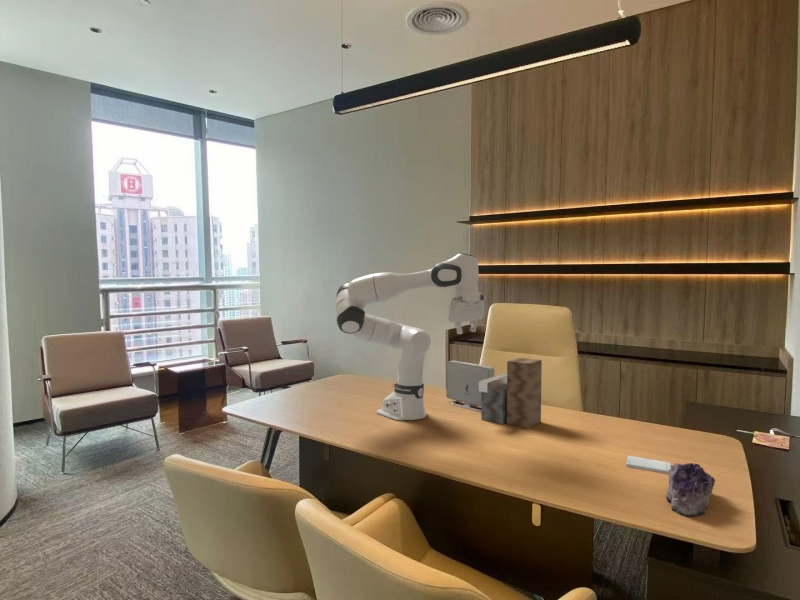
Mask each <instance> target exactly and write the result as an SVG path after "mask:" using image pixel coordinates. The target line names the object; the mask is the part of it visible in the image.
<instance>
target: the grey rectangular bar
mask: <svg viewBox="0 0 800 600" xmlns="http://www.w3.org/2000/svg"><path fill="white" fill-rule="evenodd" d="M504 386H507V372H506V373H505V372H503V373H501V374H497V375H494V377H491V378H488V379H485V380H482V381H479V391H480V392H486V393H488V392H491V391H494V390H496V389H499V388H502V387H504Z"/></svg>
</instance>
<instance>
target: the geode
mask: <svg viewBox="0 0 800 600" xmlns="http://www.w3.org/2000/svg"><path fill="white" fill-rule="evenodd" d="M668 473H669V474H668V483H669V484H668V488H667V490H668V491H667V494H666V497H665V498H666V500H667V501H669V502H670V507H671V511H672V512H674V513H676V514H678V515H680V516H683V517H685V518H694V517H695V518H696V517H698V516H703V515H705V514H706V511H707V510H708V506H709V504H710V501H711V500H710V499H711V496H712V495H713V490H714V486H715V483H716V480H715V478H714V477H713V476H712V475H710V474H709V473H707V472H706V471H705V470H704V468H703V467H702V466H701V465H700V464H698V463H692V462H691V463H689V462H688V463H684V464H681V463H677V462H676V463H674V464H673V465H671V468H670V469H669V472H668Z"/></svg>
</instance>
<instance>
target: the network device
mask: <svg viewBox="0 0 800 600" xmlns="http://www.w3.org/2000/svg"><path fill="white" fill-rule="evenodd" d="M494 376H495V368H494V367H493V366H490V365H485V364H478V363H473V362H472V363H471V362H465V361H459V360H455V359H454V360H449V361H447V362H446V387H445V388H446V389H445V391H446V398H447V399H448V400H449V399H450V400H452V401H451V402H450V405H451V404H453V405H452V406H455V405H456V406H455V407H458V406H460V407H459V408H462V407H464V408H463V409H466V408H467V409H466V410H470V409H471V411H473V412H474V411H475V412H481V409H478V408H474V407H481V394H482V392H480V391H479V381H482V380H485V379H488V378H491V377H494ZM459 401H460V402H459ZM456 402H458V403H464V404H458V403H456Z"/></svg>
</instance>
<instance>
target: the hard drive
mask: <svg viewBox="0 0 800 600" xmlns="http://www.w3.org/2000/svg"><path fill="white" fill-rule="evenodd" d="M625 465H626V466H625V467H626V468H629V469H630V468H631V469H637V470H642V471H648V472H655V473H659V474H660V473H661V474H667V475H669V473H668V472H669V469H670V468H671V467H672V464H671V462H670V461H669V462H668V461H662V460H656V459H651V458H644V457H638V456H632V455H627V458H626V463H625Z"/></svg>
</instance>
